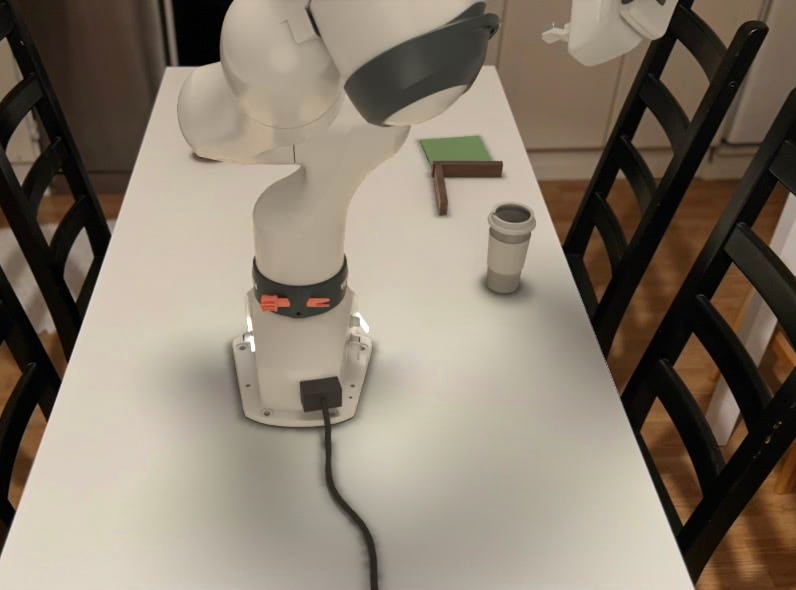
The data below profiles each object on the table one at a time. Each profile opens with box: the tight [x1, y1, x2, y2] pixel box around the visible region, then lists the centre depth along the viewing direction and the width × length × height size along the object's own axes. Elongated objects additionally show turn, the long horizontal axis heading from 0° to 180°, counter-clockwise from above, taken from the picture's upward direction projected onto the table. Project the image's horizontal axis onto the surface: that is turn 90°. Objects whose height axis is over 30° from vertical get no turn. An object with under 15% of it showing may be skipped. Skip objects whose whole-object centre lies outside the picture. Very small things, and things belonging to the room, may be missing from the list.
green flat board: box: [419, 135, 493, 169], centre depth 164 cm, size 11×11×1 cm
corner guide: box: [431, 160, 504, 216], centre depth 153 cm, size 14×12×2 cm
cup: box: [486, 201, 537, 294], centre depth 131 cm, size 7×7×12 cm
